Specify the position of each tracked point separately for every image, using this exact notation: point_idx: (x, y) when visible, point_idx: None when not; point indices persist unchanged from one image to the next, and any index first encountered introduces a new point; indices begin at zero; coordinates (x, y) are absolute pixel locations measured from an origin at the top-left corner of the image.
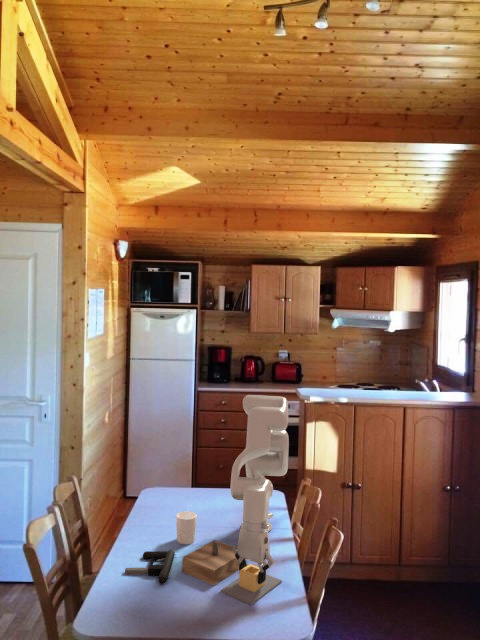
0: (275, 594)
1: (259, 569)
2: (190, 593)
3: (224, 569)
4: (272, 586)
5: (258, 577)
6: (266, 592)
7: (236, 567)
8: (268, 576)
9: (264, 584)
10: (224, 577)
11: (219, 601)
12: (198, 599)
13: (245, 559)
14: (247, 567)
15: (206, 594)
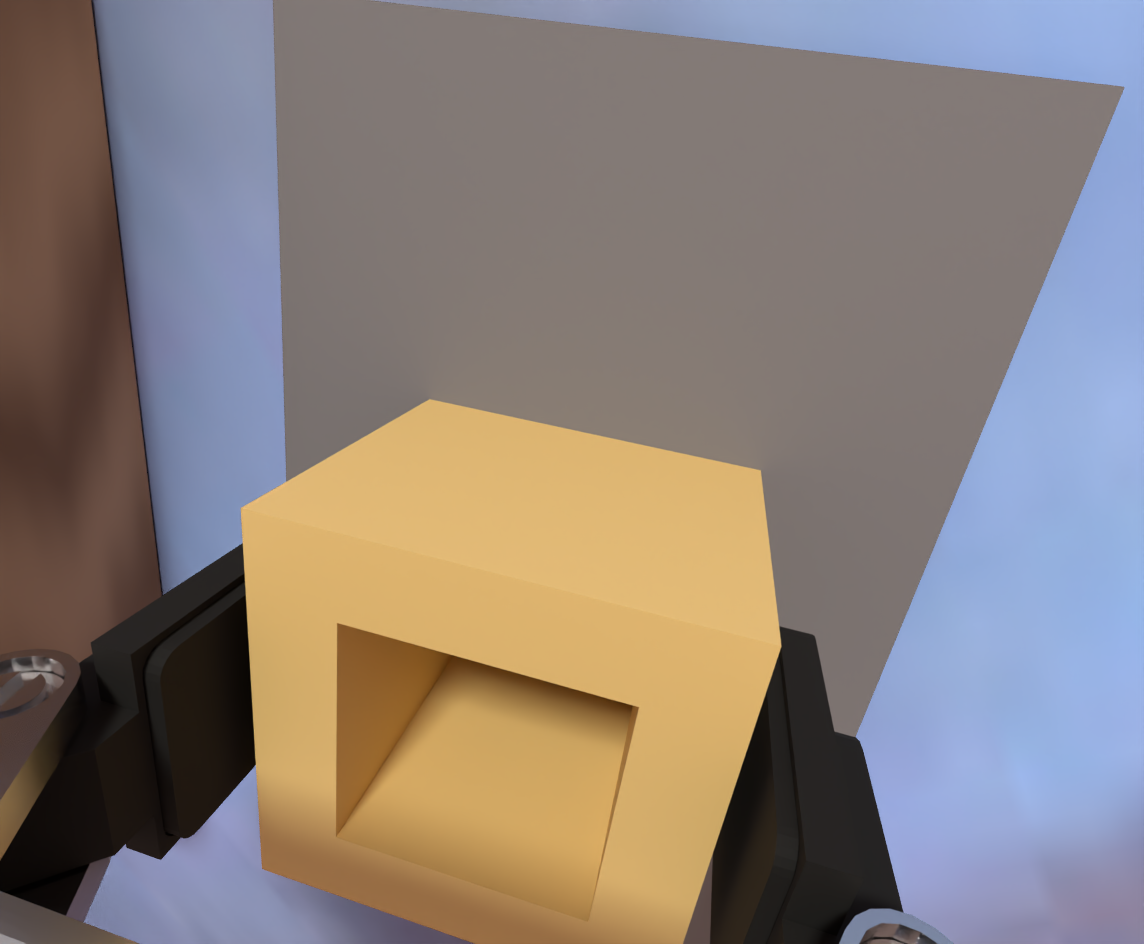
0: (1040, 618)
1: (618, 696)
2: (123, 875)
3: (13, 595)
4: (940, 470)
5: (717, 885)
6: (877, 680)
7: (52, 207)
8: (724, 101)
9: (760, 473)
10: (135, 526)
11: (407, 933)
12: (238, 938)
13: (55, 729)
14: (307, 706)
15: (234, 859)
